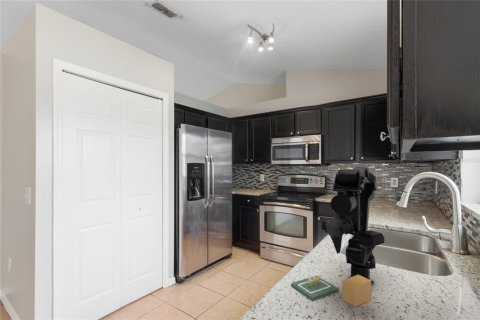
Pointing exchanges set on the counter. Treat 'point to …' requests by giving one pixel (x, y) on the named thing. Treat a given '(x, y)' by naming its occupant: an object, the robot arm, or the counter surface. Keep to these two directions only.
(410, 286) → the counter surface
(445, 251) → the counter surface
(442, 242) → the counter surface
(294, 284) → the board
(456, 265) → the counter surface
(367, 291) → the block
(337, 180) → the robot arm
